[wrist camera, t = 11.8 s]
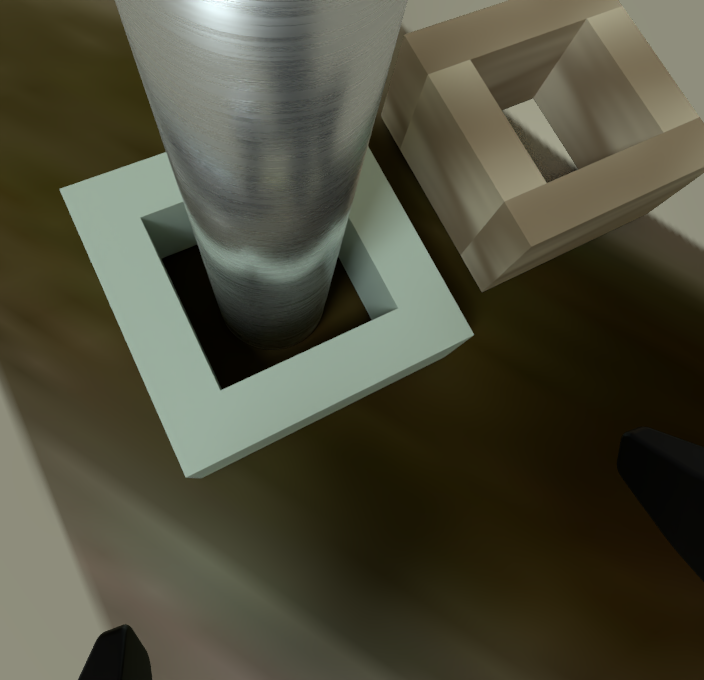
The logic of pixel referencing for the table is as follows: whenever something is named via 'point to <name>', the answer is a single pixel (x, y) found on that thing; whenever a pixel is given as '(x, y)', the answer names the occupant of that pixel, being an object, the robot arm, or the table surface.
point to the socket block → (290, 375)
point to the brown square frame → (562, 114)
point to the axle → (265, 139)
